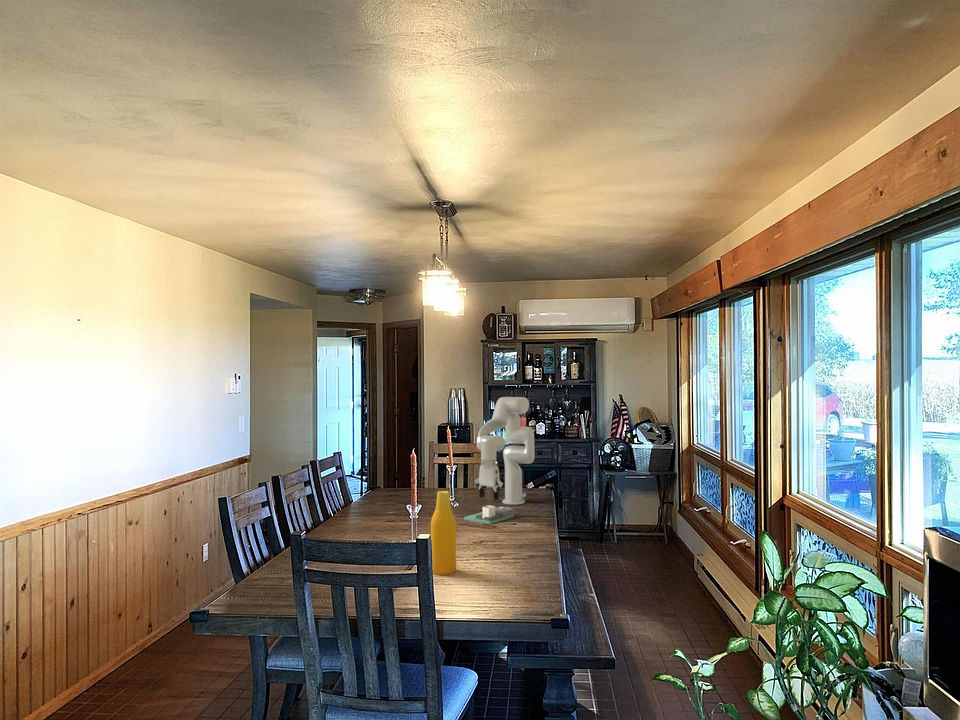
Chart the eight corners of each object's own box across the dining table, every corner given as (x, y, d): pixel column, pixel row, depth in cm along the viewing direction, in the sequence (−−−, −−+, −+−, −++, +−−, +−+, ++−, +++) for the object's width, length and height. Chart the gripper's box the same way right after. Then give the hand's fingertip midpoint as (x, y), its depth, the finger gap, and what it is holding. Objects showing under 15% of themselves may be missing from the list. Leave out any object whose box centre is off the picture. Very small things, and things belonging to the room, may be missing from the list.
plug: (488, 515, 317) (488, 504, 317) (495, 516, 314) (495, 505, 314) (482, 517, 313) (482, 506, 313) (488, 518, 310) (488, 507, 311)
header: (488, 515, 320) (488, 511, 320) (501, 517, 315) (501, 514, 315) (476, 518, 313) (476, 515, 313) (489, 521, 307) (489, 517, 307)
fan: (501, 512, 326) (501, 505, 327) (514, 514, 321) (514, 507, 321) (491, 515, 320) (491, 507, 320) (504, 517, 315) (504, 510, 315)
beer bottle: (442, 566, 240) (442, 488, 241) (461, 570, 234) (461, 491, 235) (425, 572, 233) (425, 492, 234) (444, 577, 227) (444, 495, 228)
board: (489, 512, 332) (489, 510, 332) (514, 516, 321) (514, 514, 321) (464, 519, 316) (464, 517, 316) (489, 524, 306) (489, 521, 306)
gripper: (507, 463, 312) (507, 499, 311) (479, 460, 323) (480, 495, 322) (498, 465, 306) (498, 501, 306) (470, 462, 317) (470, 497, 317)
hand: (488, 498), depth 314 cm, fingers open, 8 cm apart
